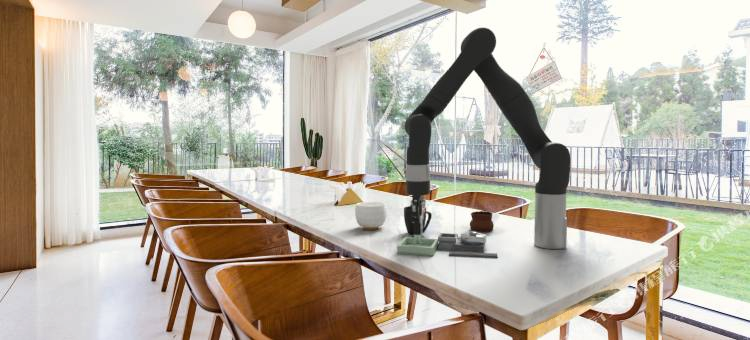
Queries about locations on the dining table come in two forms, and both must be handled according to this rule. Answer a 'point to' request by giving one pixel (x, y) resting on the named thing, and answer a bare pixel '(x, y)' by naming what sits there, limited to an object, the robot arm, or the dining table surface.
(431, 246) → the tray
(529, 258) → the dining table surface
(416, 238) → the lock pin
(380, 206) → the cup
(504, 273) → the dining table surface
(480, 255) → the strip
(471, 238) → the grey stepped block
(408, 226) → the mug
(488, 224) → the ceramic pot
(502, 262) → the dining table surface
